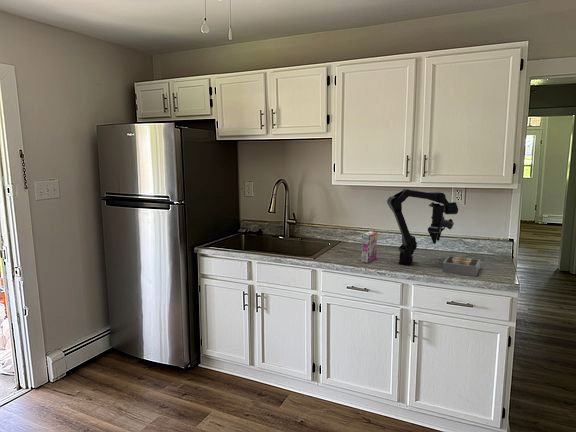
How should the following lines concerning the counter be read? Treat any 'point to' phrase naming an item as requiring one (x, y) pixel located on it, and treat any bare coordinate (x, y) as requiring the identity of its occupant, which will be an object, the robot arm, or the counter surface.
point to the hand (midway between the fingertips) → (436, 242)
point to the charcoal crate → (461, 267)
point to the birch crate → (462, 261)
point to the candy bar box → (369, 247)
